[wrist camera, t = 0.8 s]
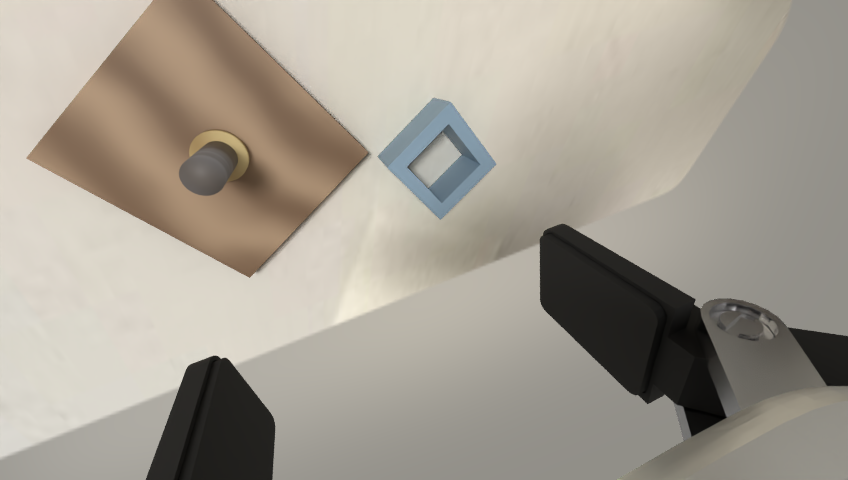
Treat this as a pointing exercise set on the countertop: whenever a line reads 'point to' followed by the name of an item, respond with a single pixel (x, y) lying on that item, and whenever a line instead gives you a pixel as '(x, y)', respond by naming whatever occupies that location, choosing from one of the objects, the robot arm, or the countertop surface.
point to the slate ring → (458, 175)
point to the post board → (201, 136)
